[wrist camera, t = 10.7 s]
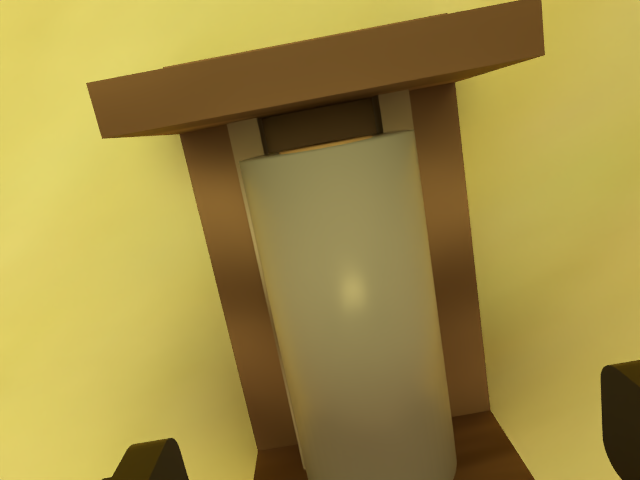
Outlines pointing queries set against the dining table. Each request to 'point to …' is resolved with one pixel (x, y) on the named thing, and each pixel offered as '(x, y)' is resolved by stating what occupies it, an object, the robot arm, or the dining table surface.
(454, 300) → the holder
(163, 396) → the dining table surface
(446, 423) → the cylinder
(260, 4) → the dining table surface
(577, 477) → the dining table surface
